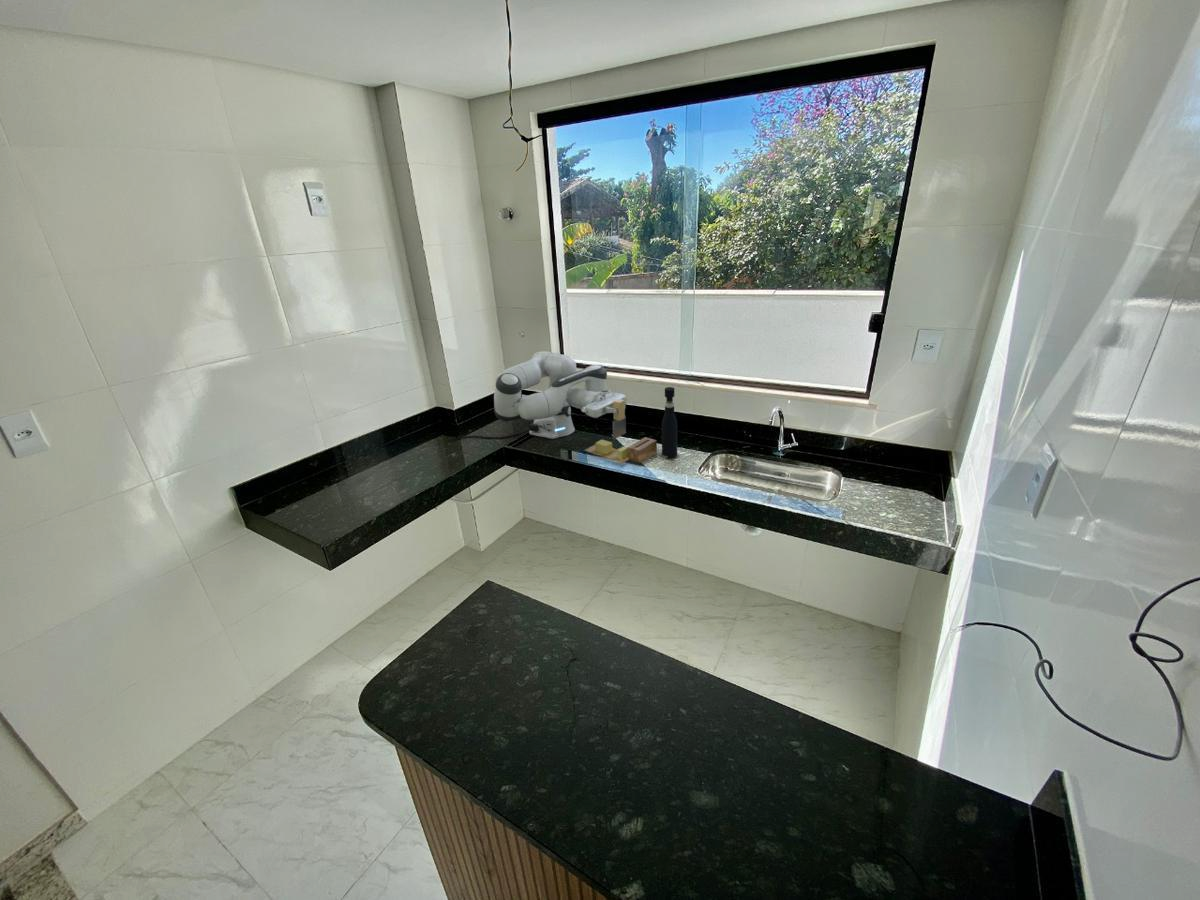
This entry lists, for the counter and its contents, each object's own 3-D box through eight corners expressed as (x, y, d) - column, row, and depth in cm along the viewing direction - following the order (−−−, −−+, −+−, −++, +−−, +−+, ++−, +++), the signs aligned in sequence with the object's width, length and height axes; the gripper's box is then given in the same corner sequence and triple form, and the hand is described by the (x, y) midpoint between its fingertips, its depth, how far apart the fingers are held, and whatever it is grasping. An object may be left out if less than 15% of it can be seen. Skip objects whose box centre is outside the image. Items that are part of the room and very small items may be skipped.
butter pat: (617, 458, 205) (616, 450, 203) (624, 454, 208) (623, 446, 206) (621, 460, 204) (621, 451, 202) (628, 456, 206) (628, 447, 205)
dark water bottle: (659, 454, 208) (658, 388, 195) (671, 450, 211) (671, 384, 198) (667, 460, 203) (667, 392, 190) (680, 456, 206) (680, 389, 192)
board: (584, 452, 215) (584, 450, 215) (597, 445, 221) (597, 442, 220) (622, 465, 201) (622, 463, 201) (635, 457, 207) (635, 455, 207)
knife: (610, 438, 201) (609, 402, 194) (622, 431, 206) (622, 396, 199) (616, 440, 199) (615, 404, 192) (628, 434, 204) (628, 398, 197)
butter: (595, 451, 213) (595, 442, 211) (602, 447, 216) (602, 439, 214) (605, 454, 209) (605, 446, 207) (612, 450, 212) (612, 442, 210)
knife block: (628, 461, 204) (627, 446, 201) (645, 451, 212) (645, 437, 209) (639, 465, 201) (639, 450, 197) (656, 455, 208) (656, 440, 205)
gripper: (577, 402, 197) (603, 409, 188) (610, 388, 210) (635, 394, 201) (579, 417, 200) (604, 424, 191) (611, 402, 213) (636, 408, 204)
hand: (620, 409), depth 196 cm, fingers closed on knife, 3 cm apart
